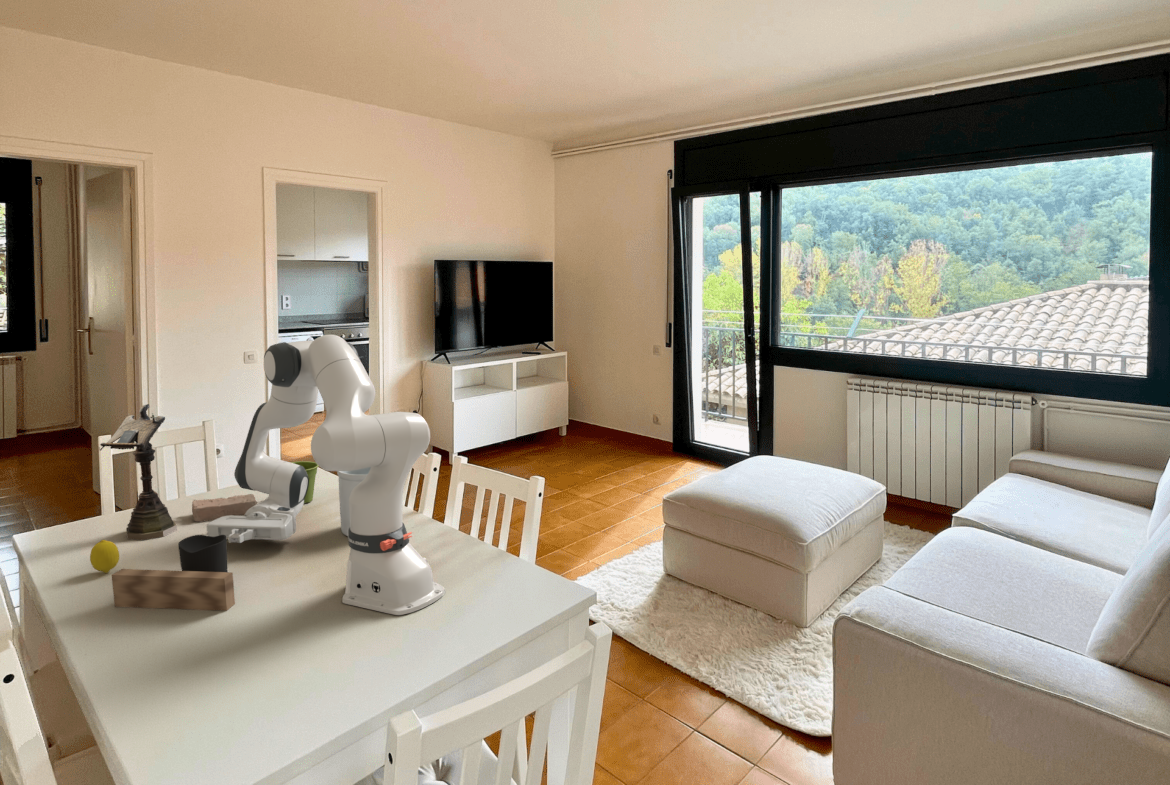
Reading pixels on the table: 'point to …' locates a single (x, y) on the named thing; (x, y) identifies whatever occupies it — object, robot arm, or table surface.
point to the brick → (222, 507)
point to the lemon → (104, 556)
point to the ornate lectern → (143, 477)
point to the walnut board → (173, 589)
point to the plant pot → (311, 472)
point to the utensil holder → (348, 493)
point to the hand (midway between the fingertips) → (234, 539)
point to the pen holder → (203, 553)
